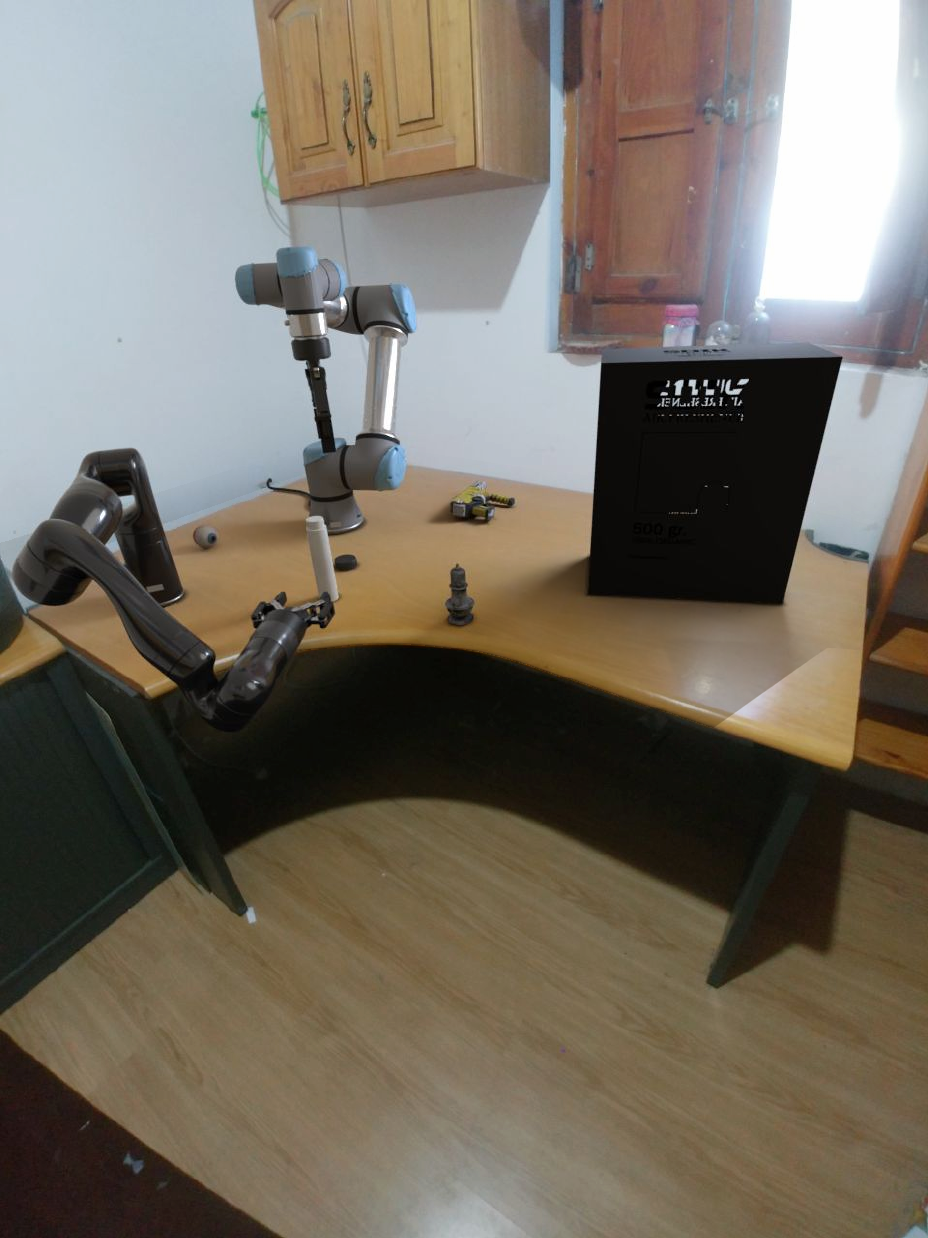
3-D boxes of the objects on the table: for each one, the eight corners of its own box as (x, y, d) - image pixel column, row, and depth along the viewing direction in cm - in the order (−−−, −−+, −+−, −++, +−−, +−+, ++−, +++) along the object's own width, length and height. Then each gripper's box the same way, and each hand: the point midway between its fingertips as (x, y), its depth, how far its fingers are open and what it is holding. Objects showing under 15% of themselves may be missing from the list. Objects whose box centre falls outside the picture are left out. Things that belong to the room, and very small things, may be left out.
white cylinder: (331, 592, 134) (317, 513, 124) (342, 597, 131) (328, 518, 122) (316, 598, 131) (300, 519, 122) (326, 604, 129) (310, 523, 119)
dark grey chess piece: (472, 626, 117) (469, 570, 111) (442, 624, 118) (438, 569, 112) (477, 611, 122) (475, 557, 116) (449, 610, 123) (445, 556, 117)
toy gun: (523, 485, 181) (476, 478, 185) (501, 509, 161) (448, 500, 165) (521, 500, 184) (475, 493, 187) (499, 525, 163) (447, 517, 167)
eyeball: (207, 553, 156) (200, 531, 153) (191, 549, 159) (185, 527, 156) (225, 545, 160) (220, 523, 157) (210, 541, 163) (204, 520, 160)
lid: (350, 571, 142) (349, 564, 141) (331, 569, 144) (330, 562, 143) (360, 562, 146) (359, 555, 145) (342, 561, 148) (340, 553, 147)
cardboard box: (760, 561, 136) (807, 342, 113) (782, 604, 118) (842, 356, 96) (590, 554, 143) (602, 348, 121) (587, 594, 126) (601, 362, 104)
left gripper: (312, 621, 101) (338, 578, 115) (231, 621, 102) (266, 578, 116) (320, 658, 104) (344, 612, 118) (241, 658, 106) (274, 612, 120)
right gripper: (288, 334, 130) (306, 434, 141) (292, 344, 109) (312, 461, 120) (323, 331, 132) (338, 430, 142) (333, 341, 111) (350, 456, 121)
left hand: (305, 595), depth 117 cm, fingers open, 8 cm apart
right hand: (327, 444), depth 131 cm, fingers open, 13 cm apart
